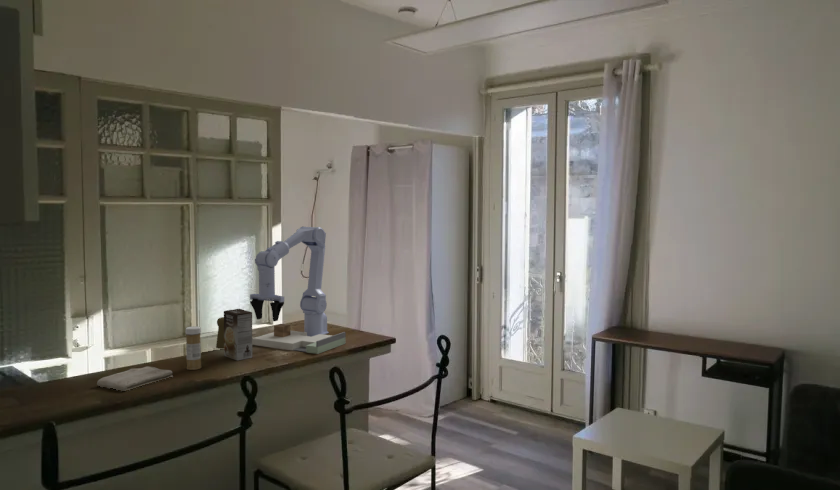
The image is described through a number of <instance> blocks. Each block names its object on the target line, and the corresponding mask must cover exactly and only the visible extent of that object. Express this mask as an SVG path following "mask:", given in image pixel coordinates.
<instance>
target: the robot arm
mask: <svg viewBox="0 0 840 490" xmlns="http://www.w3.org/2000/svg"><path fill="white" fill-rule="evenodd" d="M326 234H327V232H325V230H324V229H323V228H322V227H321V226H318V227H316V226H300V227H299V228H298V229H296V231H295V232H294V233H293V234H292V235H290V236H288V238H287V239H286V240H284V241H283V240H276V241H275V242H274V244H273V245H271V246H270V247H267V248H266V250H264V251H259V252H258V253H257V254H256V256H255V258H254V263H255V265H256V266H257V267H256V268H257V271H258V293H250V294H249V300H251V301H249V304H250V306H251V307H252V308H253V311H254V313H255V319H256V320H257V321H258V320H261V319H262V318H263V307H264V302H265V301H266V302H267V301H269V304H270V308H271V312H272V313H271V314H272V316H271V317H272V322H277V321H279V317H280V313H281V310H282V308H283V307H284V305H285V296H282V295H277V294H276V292H275V291H276V287H275V285H276V284H275V283H276V281H275V279H276V278H275V276H276V275H275V274H276V273H275V268H276V266H277V265H278V263H279V261H280V260H281V259H283V258H284V257H285V256H286V255H288V254H289V253H290V249H292V248H294V247H295V246H297V245H298V244H300V243H302V244H304V245H305V246H306V247H308V248H309V250H310V259H309V260H310V261H309V269H308V271H309V272H308V280H307V281H308V282H307V283H308V284H307V289H306V290H304V291H303V292H302V297H301V299H300V303H299V306H300V307H299V308H300V310H301V311H302V313H303V314H304V315H303V316H304V317H303V319H304V320H303V321H304V324H303V325H304V329H303V330H304V331H303V332H307V336H310V337H312V336H315V335H318V334H323V335H328V334H329V333H330V332H329V331H328V316H327V314H326V313H325V311H326V309H327V295H326V293H324V291H323V290H322V284H323V273H324V263H325V253H326V238H327V235H326Z"/></svg>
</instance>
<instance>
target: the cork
mask: <svg viewBox="0 0 840 490" xmlns="http://www.w3.org/2000/svg"><path fill="white" fill-rule="evenodd" d="M216 326H217V327H218V328H217V335H216V344H215V347H216V349H219V350H220V349H221V350H222V349H223V350H224V316H223V317H222V316H221V317H218V318H217V320H216Z"/></svg>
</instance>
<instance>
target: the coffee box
mask: <svg viewBox="0 0 840 490" xmlns="http://www.w3.org/2000/svg"><path fill="white" fill-rule="evenodd" d="M223 317H224V349H223V354H224V357H227V358H229V359H231V360H235V361H242V360H247V359H251V358H253V345H252V338H253V312H252V311H249V310H245V309H242V308H233V309H228V310H223Z"/></svg>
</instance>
